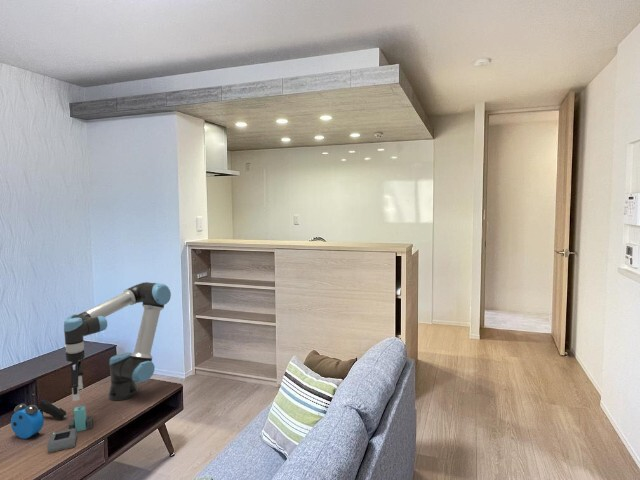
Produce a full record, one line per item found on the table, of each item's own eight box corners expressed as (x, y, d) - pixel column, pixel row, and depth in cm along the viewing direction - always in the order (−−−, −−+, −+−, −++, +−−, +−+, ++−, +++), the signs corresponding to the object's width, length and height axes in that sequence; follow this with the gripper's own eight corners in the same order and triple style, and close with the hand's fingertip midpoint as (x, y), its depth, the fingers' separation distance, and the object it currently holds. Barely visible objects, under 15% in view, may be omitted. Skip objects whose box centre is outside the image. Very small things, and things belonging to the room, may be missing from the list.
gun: (59, 431, 210) (65, 414, 208) (33, 414, 212) (40, 398, 210) (63, 428, 212) (70, 411, 211) (38, 412, 215) (44, 395, 213)
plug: (86, 425, 204) (85, 403, 203) (85, 429, 200) (84, 407, 199) (76, 427, 202) (74, 405, 201) (75, 431, 198) (73, 409, 197)
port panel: (77, 436, 194) (76, 427, 194) (74, 447, 185) (73, 438, 185) (51, 441, 190) (51, 432, 190) (47, 453, 181) (47, 443, 181)
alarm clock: (45, 433, 197) (42, 403, 196) (33, 441, 191) (30, 409, 190) (23, 430, 200) (20, 400, 199) (11, 437, 194) (8, 406, 193)
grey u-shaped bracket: (93, 422, 207) (92, 414, 206) (91, 428, 200) (91, 420, 200) (71, 426, 203) (70, 418, 202) (69, 433, 196) (68, 425, 196)
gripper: (69, 344, 207) (72, 386, 209) (61, 360, 185) (65, 407, 186) (86, 342, 210) (89, 383, 212) (81, 358, 188) (84, 403, 189)
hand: (77, 394), depth 199 cm, fingers open, 13 cm apart
